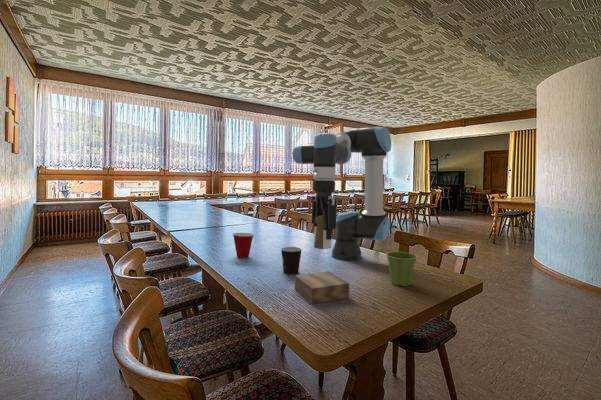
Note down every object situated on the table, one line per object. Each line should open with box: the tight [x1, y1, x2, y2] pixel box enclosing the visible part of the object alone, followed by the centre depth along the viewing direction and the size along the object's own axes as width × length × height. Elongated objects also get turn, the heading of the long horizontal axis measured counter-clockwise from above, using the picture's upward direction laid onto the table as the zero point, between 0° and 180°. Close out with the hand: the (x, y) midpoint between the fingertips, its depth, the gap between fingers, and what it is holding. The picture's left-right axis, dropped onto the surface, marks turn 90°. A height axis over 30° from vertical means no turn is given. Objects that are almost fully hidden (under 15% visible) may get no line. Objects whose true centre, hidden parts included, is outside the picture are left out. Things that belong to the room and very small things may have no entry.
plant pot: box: [385, 251, 419, 287], centre depth 120 cm, size 12×12×11 cm
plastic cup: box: [232, 232, 255, 259], centre depth 154 cm, size 11×11×12 cm
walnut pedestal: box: [294, 271, 350, 304], centre depth 108 cm, size 14×14×5 cm
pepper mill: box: [313, 215, 325, 250], centre depth 106 cm, size 6×6×11 cm
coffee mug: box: [280, 246, 303, 275], centre depth 132 cm, size 12×9×10 cm
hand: (322, 246), depth 107 cm, fingers closed on pepper mill, 6 cm apart
